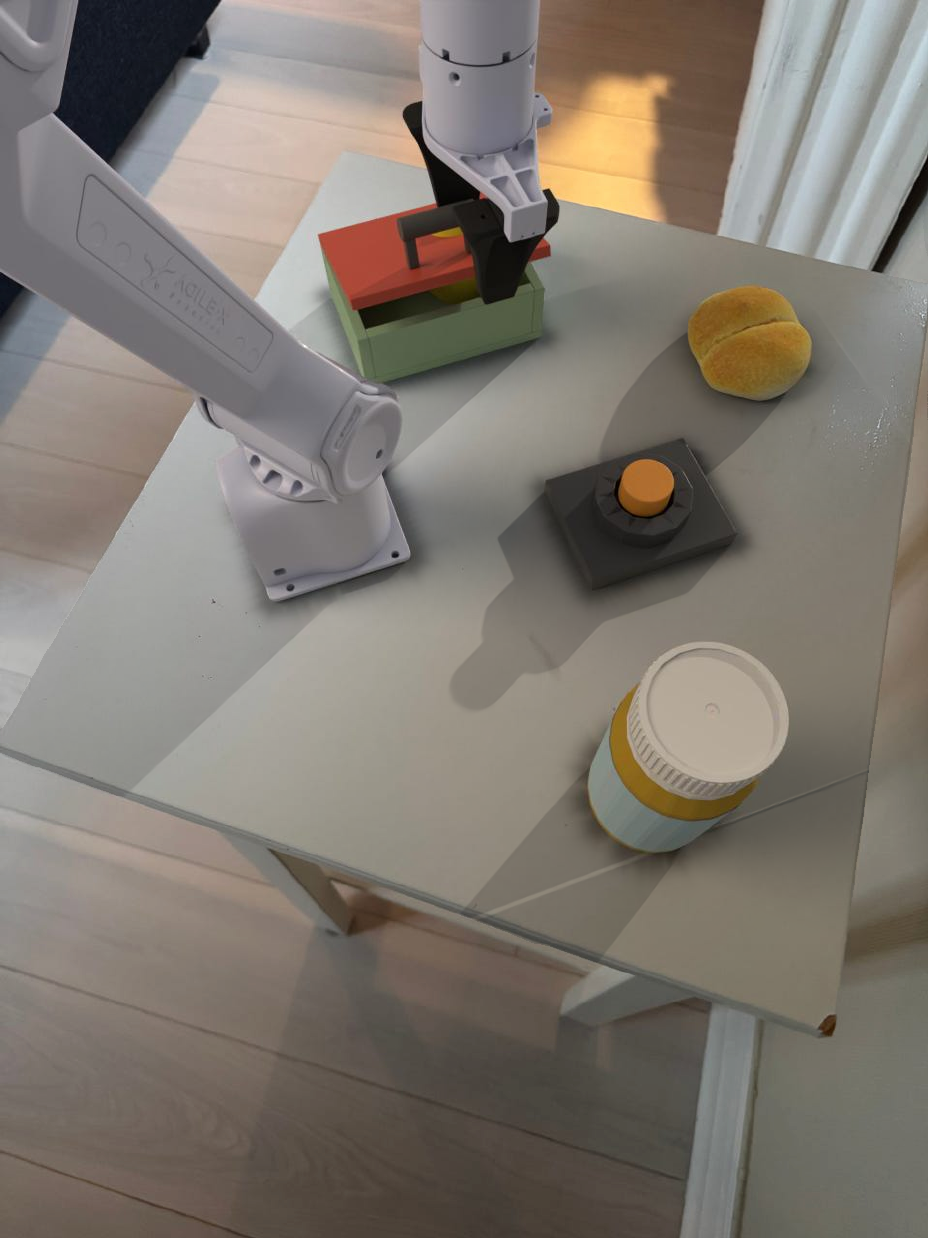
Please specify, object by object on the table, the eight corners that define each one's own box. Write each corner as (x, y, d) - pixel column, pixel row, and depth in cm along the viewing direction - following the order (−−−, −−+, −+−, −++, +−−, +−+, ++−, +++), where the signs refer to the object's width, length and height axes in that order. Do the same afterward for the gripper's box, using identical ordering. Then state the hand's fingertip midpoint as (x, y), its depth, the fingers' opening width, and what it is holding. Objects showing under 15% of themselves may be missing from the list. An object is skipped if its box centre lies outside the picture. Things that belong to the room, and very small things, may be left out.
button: (630, 523, 52) (635, 508, 50) (609, 483, 53) (613, 467, 52) (677, 508, 52) (683, 493, 51) (655, 468, 54) (660, 452, 52)
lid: (551, 256, 54) (548, 193, 51) (352, 311, 53) (338, 249, 50) (497, 197, 61) (492, 138, 58) (320, 244, 59) (305, 186, 56)
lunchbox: (541, 337, 62) (545, 287, 57) (366, 388, 60) (357, 340, 56) (496, 250, 66) (497, 197, 61) (331, 295, 64) (319, 244, 60)
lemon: (494, 326, 62) (495, 237, 55) (420, 327, 62) (411, 238, 55) (493, 272, 64) (495, 179, 57) (422, 272, 64) (414, 180, 57)
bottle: (622, 876, 46) (681, 823, 32) (565, 762, 48) (597, 668, 35) (731, 824, 47) (834, 752, 33) (670, 715, 49) (742, 607, 36)
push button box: (590, 591, 53) (596, 569, 50) (544, 491, 56) (547, 465, 53) (731, 544, 54) (745, 520, 51) (678, 449, 57) (688, 422, 55)
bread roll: (717, 417, 58) (732, 378, 55) (671, 324, 62) (683, 282, 58) (825, 391, 59) (848, 351, 55) (774, 300, 63) (792, 258, 59)
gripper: (616, 100, 38) (581, 322, 50) (502, -64, 44) (495, 170, 56) (472, 137, 37) (473, 354, 49) (374, -36, 43) (397, 196, 55)
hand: (478, 258), depth 53 cm, fingers open, 6 cm apart
